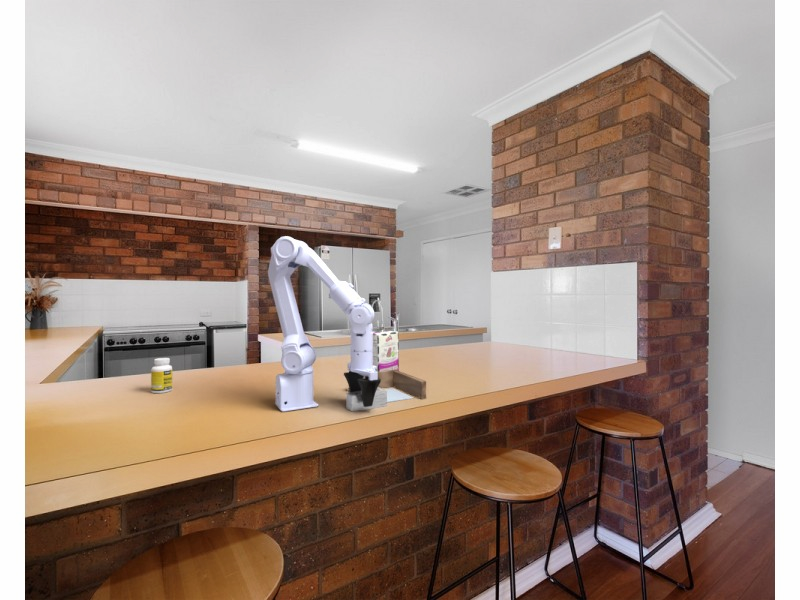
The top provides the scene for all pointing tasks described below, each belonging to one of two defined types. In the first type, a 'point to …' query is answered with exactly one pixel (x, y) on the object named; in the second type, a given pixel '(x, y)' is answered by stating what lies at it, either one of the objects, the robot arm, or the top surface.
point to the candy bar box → (386, 351)
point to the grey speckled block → (356, 402)
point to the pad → (396, 395)
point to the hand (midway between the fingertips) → (361, 402)
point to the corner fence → (402, 382)
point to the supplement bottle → (161, 376)
